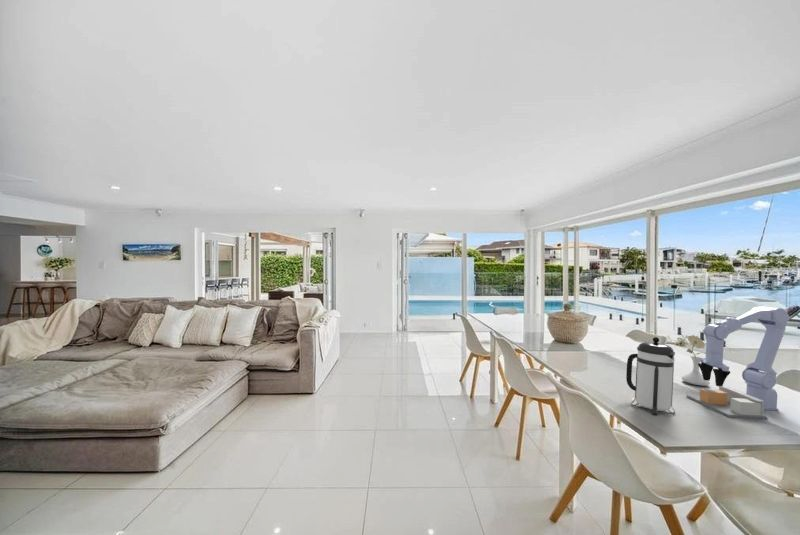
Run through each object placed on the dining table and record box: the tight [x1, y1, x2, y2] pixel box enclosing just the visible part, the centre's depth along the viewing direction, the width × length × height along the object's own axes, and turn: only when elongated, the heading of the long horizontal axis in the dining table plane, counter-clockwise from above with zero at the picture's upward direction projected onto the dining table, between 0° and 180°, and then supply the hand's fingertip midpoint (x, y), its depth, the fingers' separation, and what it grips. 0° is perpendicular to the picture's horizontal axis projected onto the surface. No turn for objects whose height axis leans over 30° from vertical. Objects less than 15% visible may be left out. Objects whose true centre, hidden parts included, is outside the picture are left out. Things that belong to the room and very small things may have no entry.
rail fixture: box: [686, 384, 768, 420], centre depth 154 cm, size 15×22×7 cm
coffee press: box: [625, 336, 676, 416], centre depth 149 cm, size 17×16×30 cm
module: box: [699, 388, 728, 405], centre depth 157 cm, size 8×4×5 cm, turn 88°
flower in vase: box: [681, 334, 711, 386], centre depth 188 cm, size 13×11×25 cm
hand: (712, 382), depth 157 cm, fingers open, 7 cm apart
